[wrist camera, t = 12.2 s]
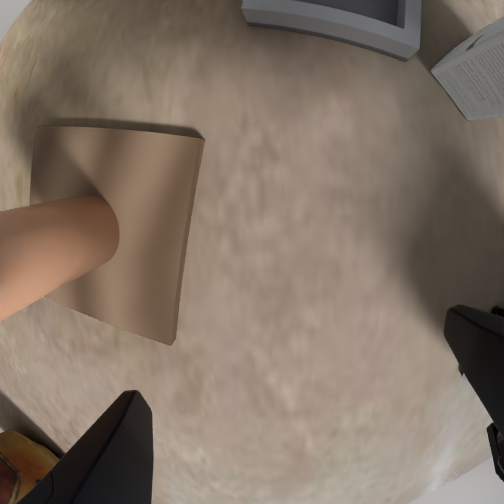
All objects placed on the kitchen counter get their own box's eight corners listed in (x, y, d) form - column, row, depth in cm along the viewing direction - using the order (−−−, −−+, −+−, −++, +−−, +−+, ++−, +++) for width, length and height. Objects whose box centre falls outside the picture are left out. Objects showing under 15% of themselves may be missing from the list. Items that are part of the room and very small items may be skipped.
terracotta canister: (109, 185, 18) (-53, 215, 7) (127, 259, 19) (-15, 344, 8) (59, 205, 19) (-79, 241, 8) (76, 270, 20) (-50, 339, 9)
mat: (205, 139, 17) (199, 138, 17) (175, 338, 22) (170, 345, 21) (45, 126, 19) (37, 125, 18) (39, 286, 23) (32, 290, 22)
